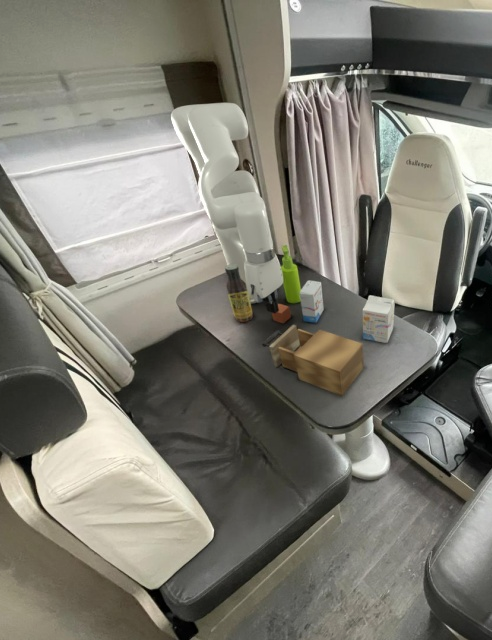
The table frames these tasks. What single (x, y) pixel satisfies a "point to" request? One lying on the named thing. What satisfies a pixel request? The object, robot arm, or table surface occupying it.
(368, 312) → the ink box
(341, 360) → the cabinet
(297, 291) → the soap dispenser
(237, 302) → the sauce bottle
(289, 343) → the drawer
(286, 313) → the block
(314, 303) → the ink box
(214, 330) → the table surface
